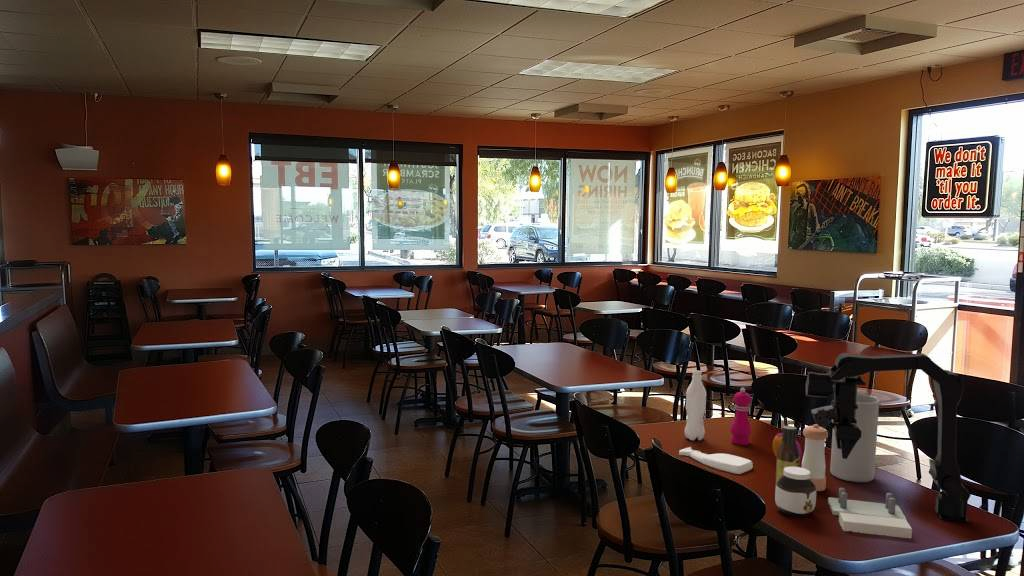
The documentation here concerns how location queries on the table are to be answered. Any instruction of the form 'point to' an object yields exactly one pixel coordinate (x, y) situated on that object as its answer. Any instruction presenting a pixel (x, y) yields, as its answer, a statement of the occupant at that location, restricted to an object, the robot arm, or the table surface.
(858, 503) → the peg stand
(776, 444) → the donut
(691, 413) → the water bottle
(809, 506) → the spread jar
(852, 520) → the shelf board
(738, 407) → the pepper mill
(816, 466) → the pepper shaker
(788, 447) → the sauce bottle
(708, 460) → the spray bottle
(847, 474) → the cylinder vase
